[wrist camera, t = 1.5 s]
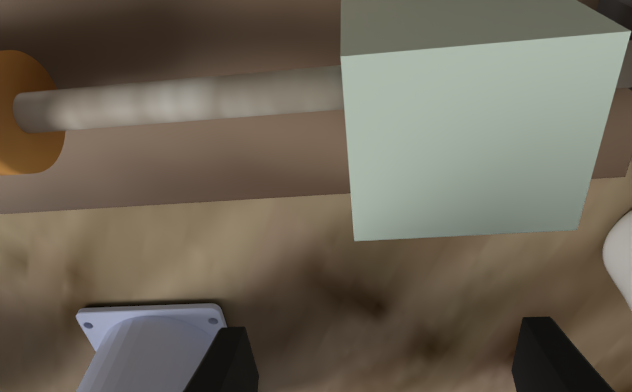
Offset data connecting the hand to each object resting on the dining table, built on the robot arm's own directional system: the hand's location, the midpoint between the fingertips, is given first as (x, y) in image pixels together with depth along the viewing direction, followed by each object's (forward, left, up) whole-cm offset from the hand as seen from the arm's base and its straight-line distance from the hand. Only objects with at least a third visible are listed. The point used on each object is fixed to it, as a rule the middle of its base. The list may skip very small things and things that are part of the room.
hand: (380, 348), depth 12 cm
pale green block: (+5, -2, -7) cm, 9 cm away
